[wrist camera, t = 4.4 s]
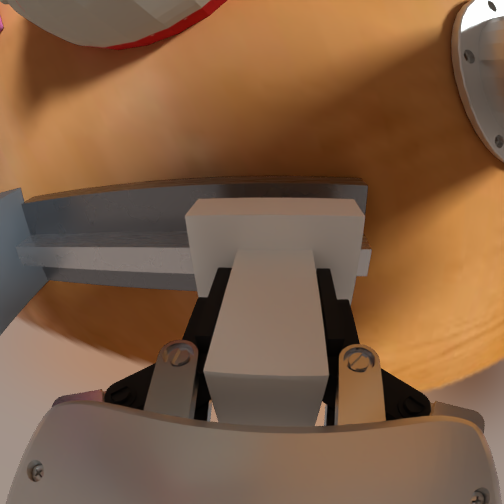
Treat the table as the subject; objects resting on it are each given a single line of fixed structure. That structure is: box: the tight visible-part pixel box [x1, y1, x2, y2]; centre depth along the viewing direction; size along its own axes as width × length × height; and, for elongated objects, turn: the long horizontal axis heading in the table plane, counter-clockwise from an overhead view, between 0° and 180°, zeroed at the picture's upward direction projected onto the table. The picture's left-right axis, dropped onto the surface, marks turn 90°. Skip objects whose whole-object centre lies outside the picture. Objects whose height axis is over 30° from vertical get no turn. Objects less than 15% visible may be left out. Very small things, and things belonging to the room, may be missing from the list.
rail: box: [15, 176, 372, 291], centre depth 17 cm, size 24×7×4 cm, turn 93°
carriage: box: [185, 198, 365, 427], centre depth 11 cm, size 7×7×8 cm
